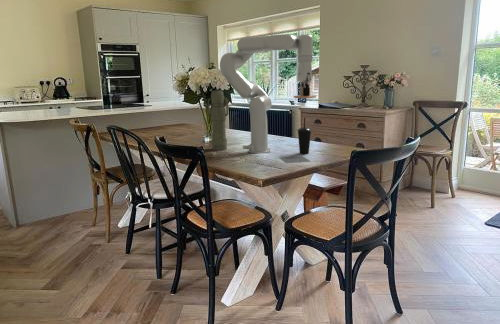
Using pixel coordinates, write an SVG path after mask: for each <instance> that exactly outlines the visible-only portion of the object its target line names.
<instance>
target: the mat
mask: <svg viewBox="0 0 500 324" xmlns="http://www.w3.org/2000/svg"><path fill="white" fill-rule="evenodd" d="M279 160H281V161H282V162H284V163H285V164H293V163H294V164H297V163H309V162H312V161H311V160H309V159H308V158H306V157H305V156H303V155H301V156H300V155H299V156H298V155H297V156H284V157H279Z"/></svg>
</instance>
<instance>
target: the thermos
mask: <svg viewBox="0 0 500 324" xmlns="http://www.w3.org/2000/svg"><path fill="white" fill-rule="evenodd" d="M224 95H225V94H224V91H223V90H222V89H214V90H212V91H211V94H210V98H208V100H207V114H208V117H210V121H211V129H212V130H211V131H212V132H211V133H212V137H211V146H212V151H216V152H217V151H226V150H227V149H228V147H227V146H228V140H227V135H226V132H227V131H226V121H227V116H228V115H229V100H228V99H227V97H226V98H225V96H224ZM225 104H226V105H225ZM210 105H211V109H210ZM225 108H226V109H225Z"/></svg>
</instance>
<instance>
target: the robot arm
mask: <svg viewBox="0 0 500 324" xmlns="http://www.w3.org/2000/svg"><path fill="white" fill-rule="evenodd" d="M313 39H314V37H313V35H312V34H301V35H293V34H286V33H285V34H274V35H272V34H271V35H259V36H246V37H245V36H243V37H241V38H239V39H238V41H237V44H236V46H237V50H236V51H235V52H227V53H224V54H223V55H222V56H221V58H220V61H219V70H220V72H221V75H222V76H223V78H225V79H224V80H226V81H227V82H228V83H229V85H230V86H231V87H232V88H233V89H234V90H235V91H236V92H237V94H238V95H239V97H240V98H242V99H247V100H248V99H249V100H250V101H249V104H248V110H249V116H250V117H249V118H250V143H249V144H248V145H243V146H242V149H243V150H248V153H251V154H255V155H256V154H257V155H258V154H268V153H270V152H271V148H269V146H268V144H269V141H268V139H269V138H268V114H267V111H269V110H270V109H271V108H272V105H273V102H272V99H271V98H270V96H269V95H268V94H267V93H266V92H265V90H264V89H262V87H261V86H260V85H259V84H257V83H256V82H255V81H249V80H248V79H246V77H244V75H243V74H242V72H240V71H239V70H238V69H241V68H242V67H243V66H244V65H245V64H246V63H247V61H249V59H250V58H252V56H253V55H254V54H261V53H264V54H265V53H269V52H271V51H282V50H283V51H285V50H286V51H297V63H298V64H297V75H296V79H297V80H296V81H297V82H299V87H300V86H304V88H303V95H304V96H309V88H310V89H311V85H310V84H311V82H312V79H313V69H312V63H313V55H314V54H313V53H314V52H313V51H314V49H313V47H314V46H313V45H314V44H313V42H314V40H313Z"/></svg>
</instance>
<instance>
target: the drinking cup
mask: <svg viewBox="0 0 500 324" xmlns="http://www.w3.org/2000/svg"><path fill="white" fill-rule="evenodd" d="M296 130H297V137H298V146H299V147H298V149H299V154H300V155H309V154H310V144H311V135H312V134H311V133H312V129H311V128H309V127H306V117H303V126H302V127H300V128H298V129H296Z"/></svg>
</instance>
